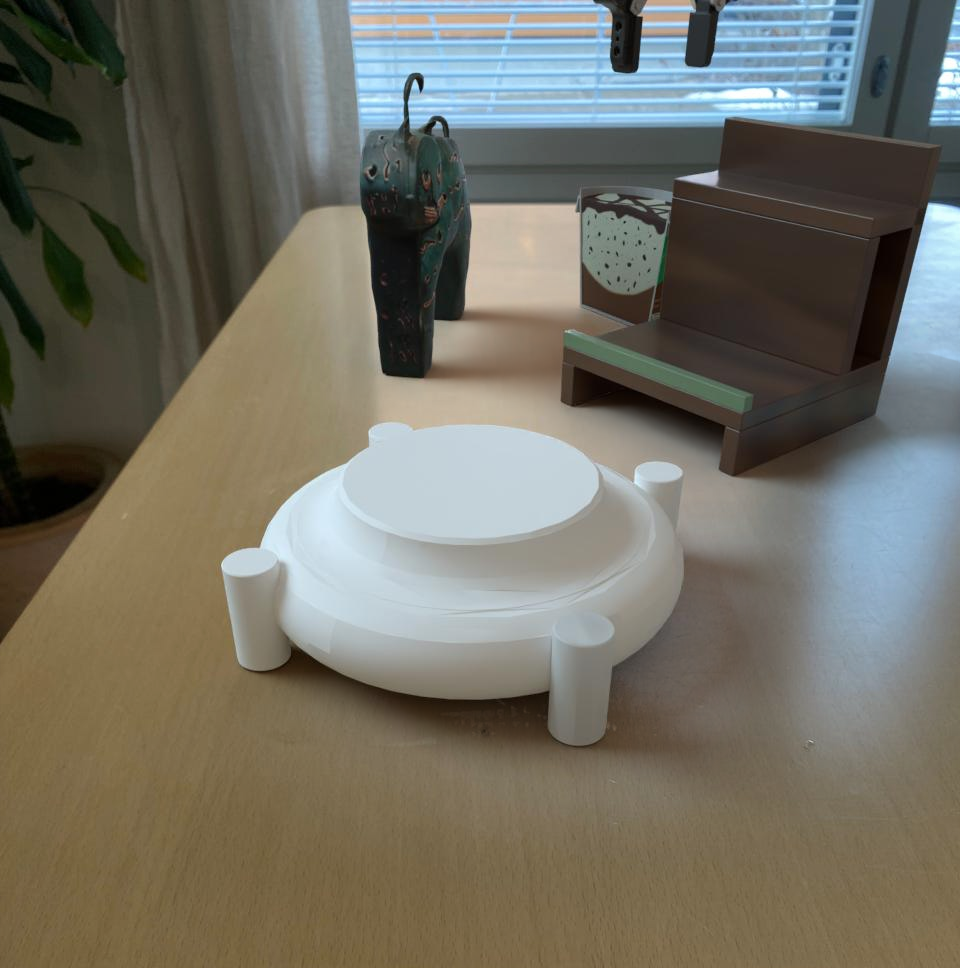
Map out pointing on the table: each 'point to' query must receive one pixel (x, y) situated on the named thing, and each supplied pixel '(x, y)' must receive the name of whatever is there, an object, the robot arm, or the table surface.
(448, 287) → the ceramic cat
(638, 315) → the food container
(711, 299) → the step rack
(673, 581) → the round stand with pegs
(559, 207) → the table surface
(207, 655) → the table surface
